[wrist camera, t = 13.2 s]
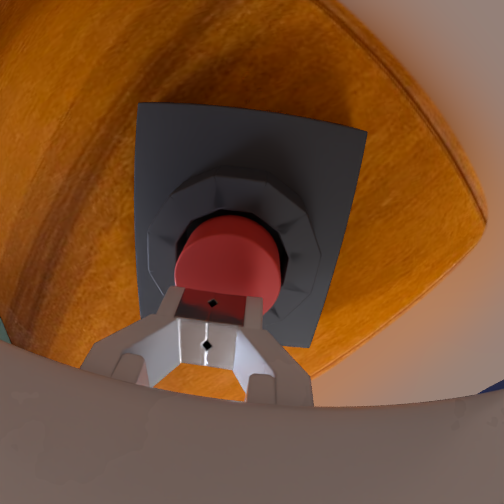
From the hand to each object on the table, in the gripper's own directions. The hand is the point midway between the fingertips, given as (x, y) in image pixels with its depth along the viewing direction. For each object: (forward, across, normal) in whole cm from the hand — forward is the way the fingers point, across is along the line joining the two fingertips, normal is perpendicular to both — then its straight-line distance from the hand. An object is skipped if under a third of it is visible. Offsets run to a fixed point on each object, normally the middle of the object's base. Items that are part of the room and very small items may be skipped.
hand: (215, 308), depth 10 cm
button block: (+6, 0, -1) cm, 6 cm away
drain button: (+2, 0, -1) cm, 2 cm away
